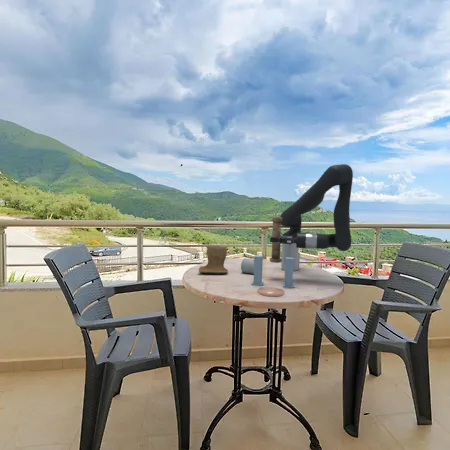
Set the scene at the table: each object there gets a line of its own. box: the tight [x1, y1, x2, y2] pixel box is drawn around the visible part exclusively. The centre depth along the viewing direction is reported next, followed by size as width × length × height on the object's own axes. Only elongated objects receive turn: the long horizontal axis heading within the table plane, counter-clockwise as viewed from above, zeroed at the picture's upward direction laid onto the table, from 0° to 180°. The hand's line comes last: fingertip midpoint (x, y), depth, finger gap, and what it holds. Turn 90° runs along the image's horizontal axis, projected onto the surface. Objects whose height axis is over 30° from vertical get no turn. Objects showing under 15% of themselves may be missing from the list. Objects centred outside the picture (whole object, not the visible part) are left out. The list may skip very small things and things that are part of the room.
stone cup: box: [198, 244, 229, 275], centre depth 170 cm, size 15×12×15 cm
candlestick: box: [269, 216, 282, 264], centre depth 159 cm, size 6×6×22 cm
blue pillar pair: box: [251, 255, 295, 289], centre depth 148 cm, size 19×5×13 cm, turn 77°
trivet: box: [256, 286, 285, 298], centre depth 136 cm, size 11×11×1 cm
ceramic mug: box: [240, 257, 254, 275], centre depth 174 cm, size 11×8×8 cm
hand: (270, 239), depth 160 cm, fingers closed on candlestick, 4 cm apart
